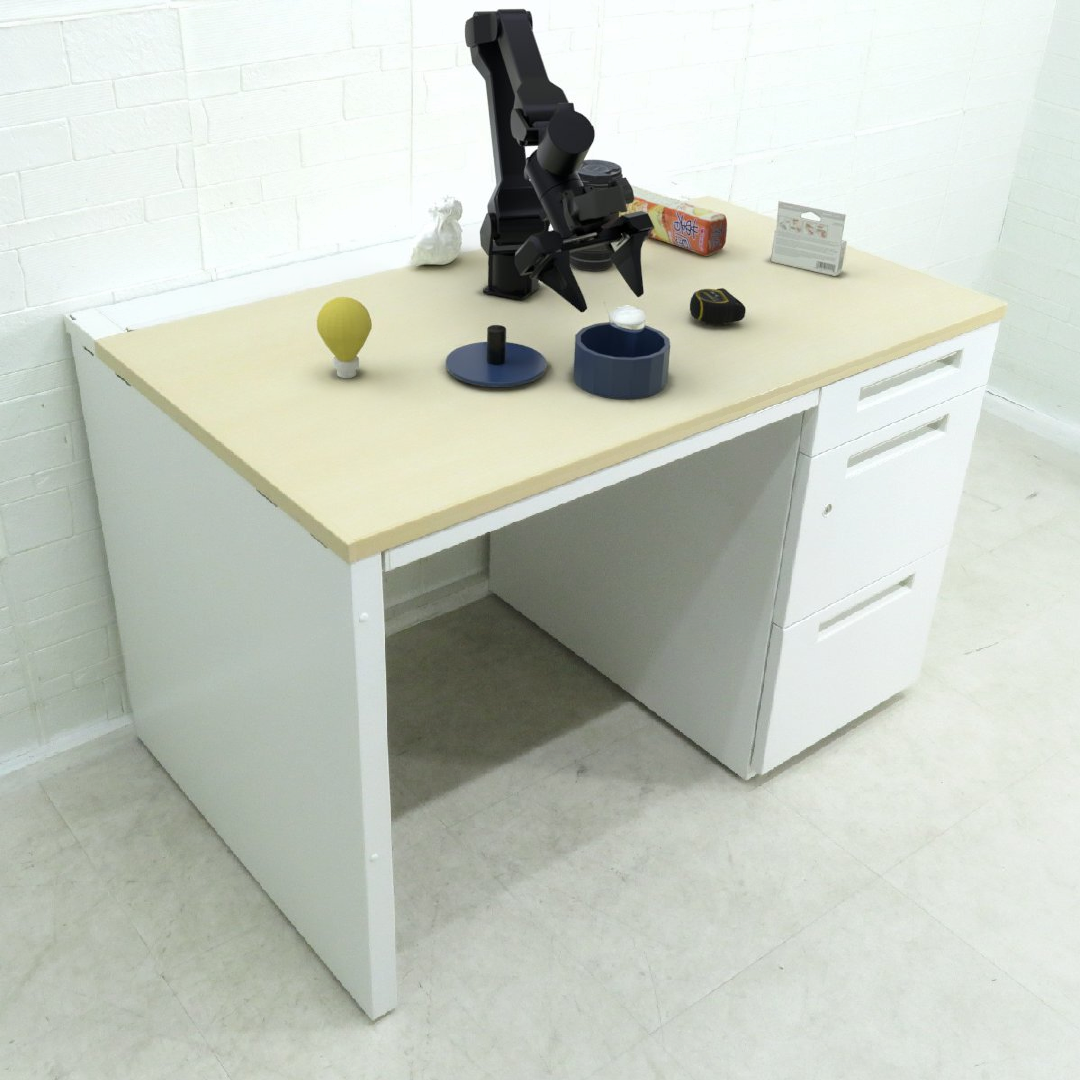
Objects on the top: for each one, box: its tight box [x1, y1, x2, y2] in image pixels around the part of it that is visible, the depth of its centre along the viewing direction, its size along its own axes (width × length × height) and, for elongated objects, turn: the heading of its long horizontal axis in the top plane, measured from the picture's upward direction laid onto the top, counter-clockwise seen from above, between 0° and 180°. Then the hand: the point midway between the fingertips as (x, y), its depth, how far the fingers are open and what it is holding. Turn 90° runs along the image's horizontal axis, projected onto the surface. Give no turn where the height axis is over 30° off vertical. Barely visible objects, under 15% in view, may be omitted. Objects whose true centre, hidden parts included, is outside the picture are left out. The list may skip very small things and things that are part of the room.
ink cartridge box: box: [770, 200, 848, 277], centre depth 198 cm, size 2×11×10 cm, turn 58°
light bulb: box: [316, 296, 373, 379], centre depth 160 cm, size 7×7×10 cm
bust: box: [409, 194, 464, 267], centre depth 195 cm, size 12×8×11 cm
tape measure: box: [689, 287, 747, 326], centre depth 180 cm, size 7×7×4 cm
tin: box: [572, 321, 671, 400], centre depth 162 cm, size 12×12×5 cm
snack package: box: [619, 184, 728, 257], centre depth 208 cm, size 21×7×7 cm, turn 47°
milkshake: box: [603, 302, 647, 358], centre depth 161 cm, size 5×5×10 cm
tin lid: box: [445, 324, 547, 388], centre depth 163 cm, size 13×13×6 cm
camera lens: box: [570, 159, 624, 272], centre depth 195 cm, size 8×8×15 cm
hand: (613, 303), depth 160 cm, fingers open, 9 cm apart
